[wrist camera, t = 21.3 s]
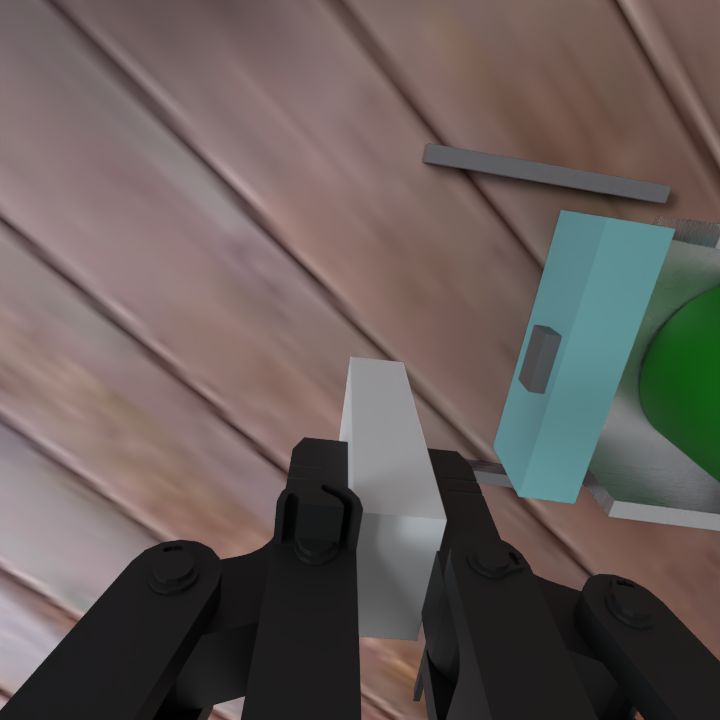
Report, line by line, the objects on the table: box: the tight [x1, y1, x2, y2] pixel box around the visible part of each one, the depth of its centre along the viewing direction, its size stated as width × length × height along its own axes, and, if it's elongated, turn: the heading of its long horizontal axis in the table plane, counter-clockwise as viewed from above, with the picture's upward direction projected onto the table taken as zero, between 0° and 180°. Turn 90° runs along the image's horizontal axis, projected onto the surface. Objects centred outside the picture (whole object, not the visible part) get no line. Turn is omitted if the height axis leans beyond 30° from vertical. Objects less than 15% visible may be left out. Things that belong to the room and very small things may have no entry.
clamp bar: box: [493, 210, 675, 504], centre depth 26 cm, size 14×4×5 cm, turn 171°
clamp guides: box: [422, 143, 672, 488], centre depth 27 cm, size 18×12×1 cm
